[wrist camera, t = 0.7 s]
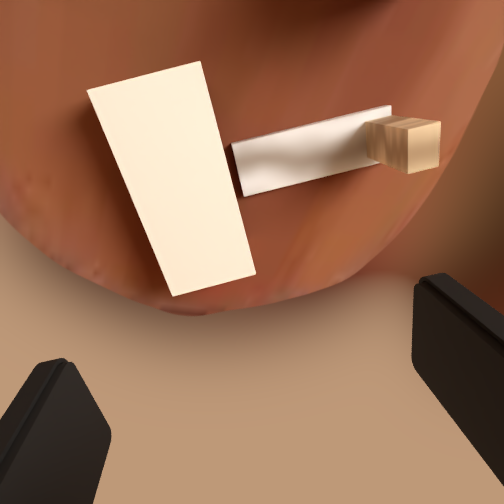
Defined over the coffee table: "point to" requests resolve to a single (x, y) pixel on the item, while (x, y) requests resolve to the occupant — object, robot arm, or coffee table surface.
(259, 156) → the white-handled mallet
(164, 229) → the cream flanged plate
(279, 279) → the coffee table surface
